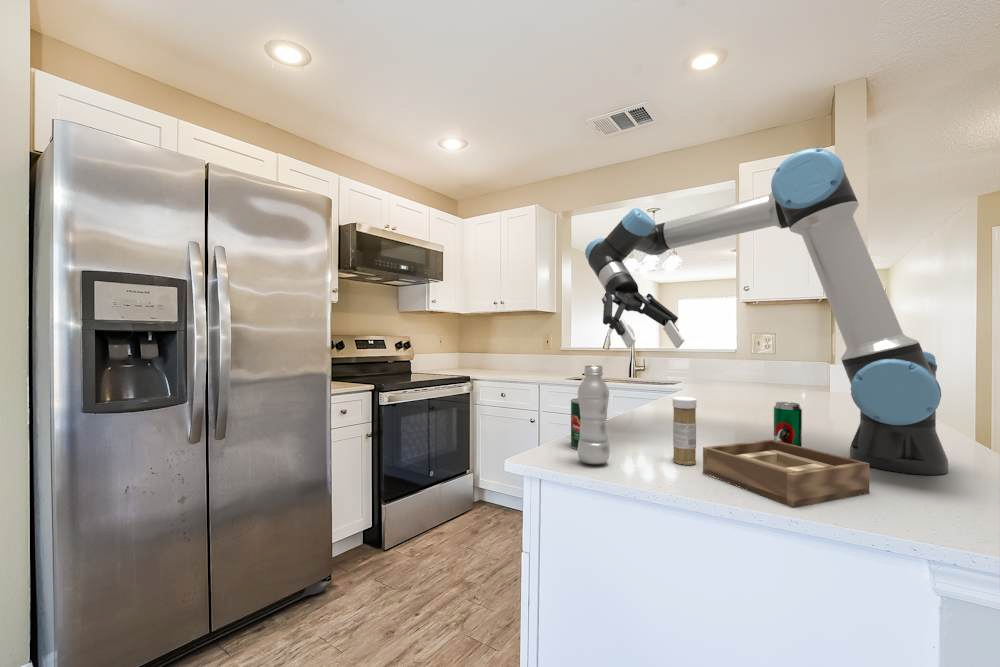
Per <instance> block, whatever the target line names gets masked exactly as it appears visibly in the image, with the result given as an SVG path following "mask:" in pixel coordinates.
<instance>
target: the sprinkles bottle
mask: <svg viewBox="0 0 1000 667" xmlns="http://www.w3.org/2000/svg"><path fill="white" fill-rule="evenodd" d="M696 408H697V399H696V398H695V397H690V396H674V397H672V409H673V421H672V423H673V424H672V435H673V436H672V438H673V439H672V441H673V442H672V445H673V458H672V462H674V463H676V464H678V465H682V464H683V465H684V466H692V465H695V464H696V463H697V459H696V458H697V457H696V448H697V423H696V421H697V420H696V419H697V418H696V415H697V414H696V412H697V411H696V410H697V409H696Z"/></svg>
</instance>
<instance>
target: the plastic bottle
mask: <svg viewBox="0 0 1000 667" xmlns="http://www.w3.org/2000/svg"><path fill="white" fill-rule="evenodd" d="M583 374H584V375H583V376H585V377H584V379H583V380H582V382H581V383H580V384H579V386H578V388H577V398H578V400H579V407H580V417H581V419H580V423H581V425H580V438H579V439H580V440H579V443H578V450H577V456H578V459H579V460H580V462H582V463H584V464H586V465H587V464H588V465H604V464H606V463H607V462H608V460H609V459H610V452H611V450H610V443H609V441H608V440H609V438H608V437H609V436H608V429H607V422H608V420H607V417H608V406H609V397H610V390H609V387H608V385H607V383H606V382H605V381H604V380H603V377H602V376H604V372H603V365H584V373H583Z"/></svg>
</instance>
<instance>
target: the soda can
mask: <svg viewBox="0 0 1000 667" xmlns="http://www.w3.org/2000/svg"><path fill="white" fill-rule="evenodd" d="M773 440H775V441H779V442H783V443H787V444H792V445H796V446H800V447H803V409H802V407H801V404H800V403H797V402H792V401H777V402H775V405H774V406H773Z"/></svg>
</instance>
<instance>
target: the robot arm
mask: <svg viewBox="0 0 1000 667" xmlns="http://www.w3.org/2000/svg"><path fill="white" fill-rule="evenodd" d="M770 188H771V192H770V193H768V194H763V195H762V196H757V197H754V198H751V199H750V198H749V199H746V200H742V201H739V202H735V203H731V204H727V205H724V206H720V207H716V208H713V209H709V210H705V211H701V212H697V213H694V214H689V215H687V216H683V217H682V216H681V217H679V218H676V219H672V220H669V221H668V220H667V221H666V222H662V223H658V224H657V223H655V221H654V220H653V218H651V217H650V216H649V215H648V214H647V213H646V212H645V211H643V210H642V209H641V208H639V207H638V208H637V207H634V208H632V209H631V210H630V211H629V212H628V213H627V214H626V215H624V216H623V218H622V219H621V220H620V221H619V222H618V223H617V225H616V226H615V227H614V228H613V229H612V230H611V231H610V232H609V234H608V235H607V236H606V237H605V238H602V237H599V238H596V239H595V240H592V241H590V242H589V243H588V245H587V246H586V248H585V251H584V255H585V258H586V260H587V262H588V265H589V267H590V268H591V269H592V271H593V272H594V274H595V276H596V278H597V279H598V281H599V283H600V285H602V288H603V289H604V291H605V293H604V295H603V297H602V298H601V301H602V303H603V312H602V313H603V316H602V324H604V325H605V326H606V325H608V327H609V328H610V329H611V330H615V332H616V334H617V335H618V336H620V338H621V339H622V341H623V343H624V345H625V347H626V348H627V349H631V348H632V346H633V345H634V344H635V342H636V338H635V336H634V334H633V333H632V331H631V329H630V327H629V326H628V325H627V323H626V321H625V319H622V318H621V317H622V315H623V312H624V310H625V311H626V312H637V313H638V314H640V315H645V316H646V317H649V318H650V319H651V320H654V322H656V323H658V324H660V325H661V326H663V331H664V332H665V334H666V335H667V338H669V340H670V341H671V343H672V344H673V346H674V347H675V348H676V349H679V348H680V347H681V346H682V345H683V343H684V342H685V341H686V339H685V338H684V337H683V336H682V334H681V332H680V330H679V328H678V327H677V326H676V322H677V321H678V320H679V317H678V316H677V315H676V314H675V313H673V312H672V311H670V310H669V309H668V308H667V307H665V306H664V304H662V303H661V302H660V301H658V300H657V299H656V298H655V297H654V296H653V294H651V293H647V294H646V295H644V296H643V295H642V294H641V293H640V292H639V286H638V283H637V282H636V280H635V279H634V278H633V276H632V275H631V273H630V271H629V270H628V268H627V267H626V266H625V264H624V262H623V261H624V260H625V259H626V258H627V257H628V256H629V255H630V254H631V253H632V252H633V251H634V250H635V251H639V252H642V253H645V254H646V255H649V256H660V255H662V254H664V253H666V252H667V251H668V250H673V249H676V248H681V247H685V246H686V247H687V246H689V245H690V246H691V245H695V244H699V243H704V242H709V241H713V240H717V239H722V238H726V237H732V236H735V235H740V234H743V233H748V232H753V231H757V230H761V229H762V230H763V229H767V228H771V227H777V228H779V229H781V230H782V229H786V228H788V229H789V231H790V232H791V233H794V234H797V235H800V236H801V237H802V239H803V241H804V245H805V246H806V249H807V252H808V254H809V257H810V259H811V262H812V264H813V267H814V270H815V272H816V274H817V276H818V279H819V281H820V284H821V286H822V289H823V291H824V292H823V293H824V295H825V297H826V299H827V302H828V304H829V306H830V307H829V308H830V309H831V312H832V314H833V317H834V319H835V323H836V325H837V327H838V330H839V331H840V332H839V333H840V334H841V336H842V340H843V342H844V345H845V347H846V349H845V351H844V353H843V355H842V356H841V358H840V359H841V362H842V366H843V367H844V370H845V373H846V376H847V378H848V380H849V381H848V382H849V383H850V396H851V399H852V401H853V402H854V404H855V405H856V407H857V408H858V409H859V412H860V413H859V415H860V416H859V418H860V419H859V420H860V421H859V425H858V427H857V430H856V432H855V434H854V437H853V439H852V441H851V444H850V447H849V459H853V460H857V461H862V462H866V463H869V467H872V468H875V469H880V470H884V471H891V472H896V473H904V474H913V475H927V476H928V475H929V476H930V475H933V476H934V475H935V476H936V475H945V474H947V473H948V472H949V460H948V457H947V455H946V452H945V449H944V447H943V445H942V442H941V440H940V438H939V436H938V432H937V430H936V429H937V428H936V424H937V423H936V418H937V415H936V414H937V412H936V410H937V409H938V407H939V405H940V401H941V398H942V388H941V386H940V384H939V381H938V380H937V370H938V365H937V362H936V356H935V355H934V354H932V353H931V352H928V351H923V348H922V346H921V344H920V342H919V340H917V339H914V338H912V337H909V336H907V335H905V334H904V333H903V329H902V326H900V323H899V321H898V319H897V316H896V313H895V311H894V309H893V307H892V304H891V302H890V300H889V297H888V295H887V292H886V290H885V288H884V285H883V283H882V281H881V279H880V277H879V274H878V271H877V269H876V267H875V265H874V262H873V260H872V258H871V255H870V253H869V251H868V248H867V246H866V244H865V241H864V239H863V237H862V235H861V232H860V230H859V228H858V225H857V223H856V220H855V218H854V214H855V213H856V211H857V209H858V207H859V206H860V205H859V201H858V199H857V197H856V194H855V192H854V189H853V187H852V185H851V183H850V180H849V178H848V176H847V174H846V171H845V167H844V163H843V162H842V159H841V158H840V157H839V156H838V155H836V154H835V153H834V152H832V151H831V150H827V149H823V148H816V147H815V148H814V147H813V148H807V149H802V150H800V151H797V152H794V153H793V154H791V155H790V156H788V157H787V158H785V159H784V160H783V161H782V162H781V163H780V164H779V165H778V167H777V168H776V170H775V171H774V173H773V176H772V178H771V182H770ZM613 303H614V304H616V305H617V309H616V311H615V314H614V316H613Z"/></svg>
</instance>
